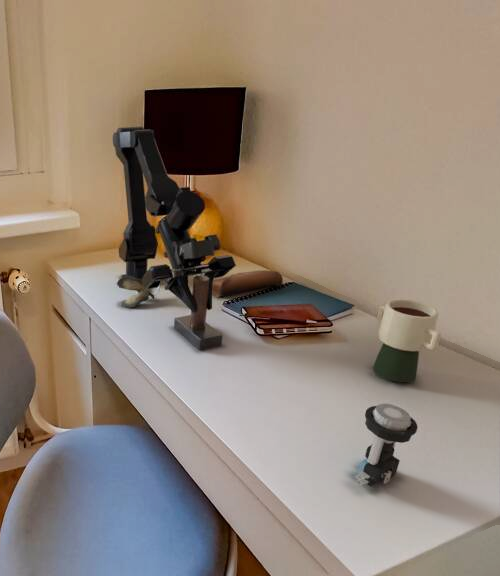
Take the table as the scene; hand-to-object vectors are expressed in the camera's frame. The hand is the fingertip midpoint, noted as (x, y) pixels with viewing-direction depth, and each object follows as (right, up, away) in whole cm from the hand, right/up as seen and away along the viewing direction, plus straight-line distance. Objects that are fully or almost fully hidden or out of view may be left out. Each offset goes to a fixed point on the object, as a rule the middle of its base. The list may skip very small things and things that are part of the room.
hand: (202, 310), depth 90 cm
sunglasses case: (+17, +4, +26) cm, 32 cm away
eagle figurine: (-10, +1, +20) cm, 23 cm away
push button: (+13, -20, -31) cm, 39 cm away
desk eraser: (0, -6, +4) cm, 7 cm away
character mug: (+30, -11, -11) cm, 34 cm away
